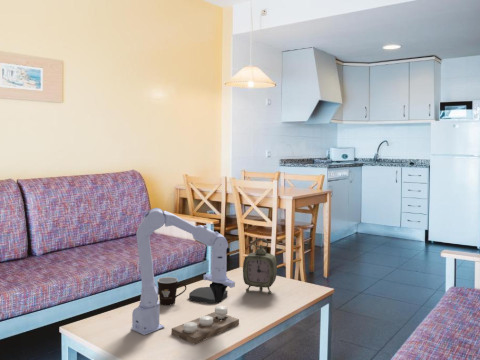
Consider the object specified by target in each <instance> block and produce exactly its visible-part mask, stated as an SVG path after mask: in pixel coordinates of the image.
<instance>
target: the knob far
mask: <svg viewBox="0 0 480 360" xmlns="http://www.w3.org/2000/svg"><path fill="white" fill-rule="evenodd" d="M214 312H215V314H216V315H217V318H218V319H224V318H225V315H228V307H227V306H225V305H218V306H215V307H214Z"/></svg>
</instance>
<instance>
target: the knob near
mask: <svg viewBox="0 0 480 360" xmlns="http://www.w3.org/2000/svg"><path fill="white" fill-rule="evenodd" d="M183 324H184V328H183V331H184V332H186V333H194V332H196V331H197V324H196V323H194V322H190V321H188V322H185V323H183Z"/></svg>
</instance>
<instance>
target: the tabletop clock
mask: <svg viewBox="0 0 480 360" xmlns="http://www.w3.org/2000/svg"><path fill="white" fill-rule="evenodd" d="M258 241H264V242H265V243H266V245H265V246H263V245H262V244H260V245H256V242H258ZM253 246H255V247H256V250H255V252H250V253H249V254H247V255H246V256H245V257H244V260H243V265H242V277H243V278H242V279H243V282H244V284H245V285H247V288H246V289H245V292H248V293H249V291H250V288H251V287H255V288H259V289H258V290H259V291H263V288H267V290H268V292H267V295H272V291H271V290H270V289H271V286H273V284H274V283H275V281H276V279H277V273H278V263H277V258H276V255H274V254H272V253H268V252H267V251H266V250H265V249H264V248H267V247H268V246H269V242H268V240H266V239H264V238H256V239H254V240H253Z"/></svg>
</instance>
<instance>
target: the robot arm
mask: <svg viewBox="0 0 480 360" xmlns="http://www.w3.org/2000/svg"><path fill="white" fill-rule="evenodd" d="M163 226H164V227H167V228H168V227H171V226H173V227H175V228H178V229H180V230H182V231H184V232H186V233H189V234H191V235H192V238H193V239H194V240H195V241H197V242H199V243H202V244H203V245H205V246H208V247H212V248H211V260H210V261H211V263H210V264H211V266H210V270H211V271H210V272H211V273H210V274H209V273H206V274H203V280H204V281H209V282H211V283H210V284H209V287H210V288H211V289H212V291H213V294H214V298H215V302H216V303H215V304H220V303H222V301H223V300H222V298H223V295H224V292H225V290H226V291H227V288H228V287H229V288H231V289H232V288H235V287H236V281H234V280H233V279H230V278H228V275H227V270H228V269H227V264H228V263H227V262H228V261H227V259H228V258H227V257H228V255H227V249H228V248H229V243H228V239H226V237H225V236H224V235H223V234H221V233H219V232H218V231H214V230H212V229H210V228H208V225H206V224H204V225H201V224H198V225H194V224H192V223H190V222H189V221H187V220H186V219H184V218H181V217H180V216H178V215H176V214H174V213H172V212H169V211H168V210H162V209H161V208H159V207H154V208H151V209H150V210H149V211H148V212H147V213H145V215H144V217H143V219H142V221H141V222H140V223H139V226H138V228H137V230H136V233H135V235H136V243H137V251H138V261H139V270H140V278H141V290H140V293H141V294H140V297H139V298H140V302H139V304H138V306H137V307H135V308H134V309H133V310H132V312H131V313H132V315H131V316H132V317H131V318H132V319H131V320H132V322H131V323H132V325H131V326H132V327H131V328H130V330H133V331H134V332H137V333H139V334H141V335H143V336H145V335H147V334H150V333H151V334H152V333H153V332H155V331H158V330H161V329H164V328H165V325H163V324H160V305H161V304H160V300H159V290H158V285H157V284H156V280H155V275H154V264H153V257H152V248H151V247H152V246H151V238H150V236H152V235H153V233H154V232H155V231H156V230H159V229H160V228H162V227H163Z"/></svg>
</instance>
